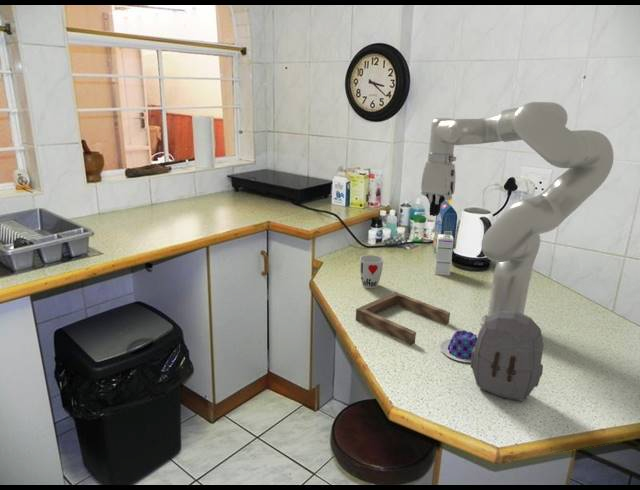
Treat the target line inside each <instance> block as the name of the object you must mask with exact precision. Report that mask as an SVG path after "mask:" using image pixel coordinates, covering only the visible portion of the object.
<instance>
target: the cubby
mask: <svg viewBox="0 0 640 490" xmlns="http://www.w3.org/2000/svg"><path fill="white" fill-rule="evenodd" d="M396 306H398V307H401V308H404V309H405V310H408V311H411V312H413V313H415V314H417V315H420V316H423V317H425V318H427V319H430V320H433V321H434V322H438V323H441V324H443V325H449V324H450V318H451V312H450V311H447V310H444V309H442V308H440V307H436V306H434V305H431V304H429V303H426V302H423V301H421V300H418V299H415V298H413V297H410V296H407V295H406V294H402V293H400V292H396V291H394V292H392V293H390V294H387V295H384V296H383V297H381V298H378V299H376V300H374V301H372V302H369V303H367V304H364V305H361V306H360V307H358V308H356V310H355V311H356V312H355V321H358V322H360V323H362V324H364V325H367V326H368V327H371V328H373V329H376V330H377V331H379V332H382V333H384V334H386V335H389V336H390V337H393V338H395V339H397V340H399V341H401V342H403V343H406V344H408V345H410V346H413V345H415V344H416V336H417V332H416V331H415V330H412V329H410V328H408V327H406V326H403V325H401V324H399V323H397V322H394V321H392V320H389V319H387V318H385V317H383V316H381V315H378V314H381V313H383V312H385V311H387V310H390V309H391V308H393V307H396Z"/></svg>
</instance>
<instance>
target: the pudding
mask: <svg viewBox="0 0 640 490" xmlns="http://www.w3.org/2000/svg"><path fill="white" fill-rule="evenodd" d="M477 338H478V335H476V334H474V333H473V332H472V331H468V330H457V331H456V332H454V333H453V335H452V336H451V338H450V339H446V340H443V341H442V342H441V343H440V346H439V348H440V350H441V352H442V353H443V354H444V355H445V356H446V357H449V358H450V359H452V360H456V361H458V362H463V363H471V356H472V355H471V354H472V351H473V348H474V347H475V346H476V342H477Z"/></svg>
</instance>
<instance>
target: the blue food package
mask: <svg viewBox="0 0 640 490" xmlns="http://www.w3.org/2000/svg"><path fill="white" fill-rule="evenodd" d="M434 222H435V223H434V232H433V233H434V234H433V240H432V251H433V250H434V251H433V252H434V254H435V255H436V248H437V239H438V234H446V235H452V236H453V240H454V241H453V249H454V248H455V240H456V234H457V225H458V213H457V211H456V210H455V208H454V207H453V198H452V199H451V200H445V201H443V203H441V207H440V213H439V215H437V216H435V221H434ZM454 250H455V249H454ZM454 250H453V251H452V253H453V254H454Z"/></svg>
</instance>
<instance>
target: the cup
mask: <svg viewBox="0 0 640 490" xmlns="http://www.w3.org/2000/svg"><path fill="white" fill-rule="evenodd" d="M383 265H384V258H383V257H381V256H379V255H373V254H367V255H366V254H365V255H362V256H360V257H359V272H360V280H361V283H362V287H363V288H366V289H376V288H377V287H378V285H379V282H380V279H381V277H382V272H383Z"/></svg>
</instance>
